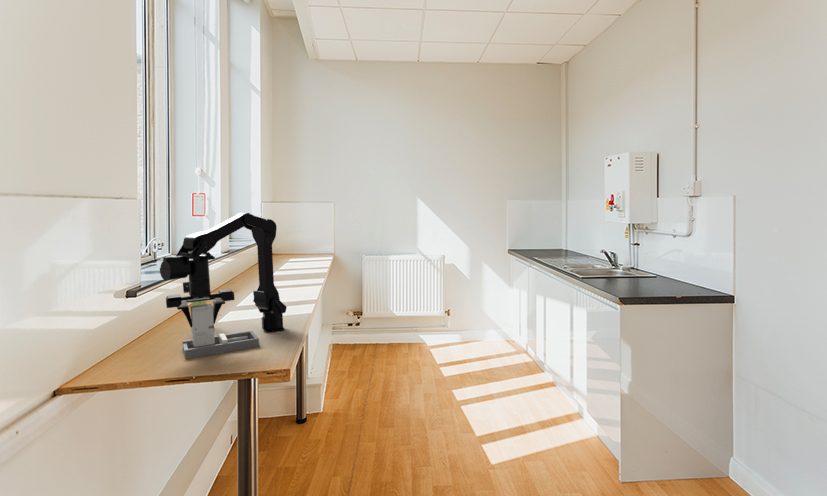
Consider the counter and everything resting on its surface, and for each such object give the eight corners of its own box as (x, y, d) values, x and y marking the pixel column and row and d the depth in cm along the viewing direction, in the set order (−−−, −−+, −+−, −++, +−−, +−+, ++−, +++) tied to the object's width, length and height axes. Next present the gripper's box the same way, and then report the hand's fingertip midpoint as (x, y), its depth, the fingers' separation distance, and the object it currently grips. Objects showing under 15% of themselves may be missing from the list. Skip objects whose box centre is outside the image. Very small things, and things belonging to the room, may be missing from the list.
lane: (252, 337, 152) (252, 330, 152) (259, 346, 143) (258, 338, 142) (183, 348, 142) (182, 341, 141) (185, 358, 132) (184, 350, 132)
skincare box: (194, 347, 136) (190, 308, 135) (192, 344, 140) (189, 305, 139) (216, 343, 139) (213, 305, 138) (213, 340, 143) (210, 303, 142)
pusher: (245, 338, 150) (244, 330, 149) (250, 345, 142) (249, 336, 142) (219, 343, 146) (218, 333, 145) (223, 349, 138) (222, 340, 138)
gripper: (227, 269, 149) (230, 315, 151) (163, 275, 140) (167, 324, 141) (233, 273, 139) (236, 323, 141) (164, 280, 130) (168, 332, 132)
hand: (202, 325), depth 139 cm, fingers closed on skincare box, 6 cm apart
